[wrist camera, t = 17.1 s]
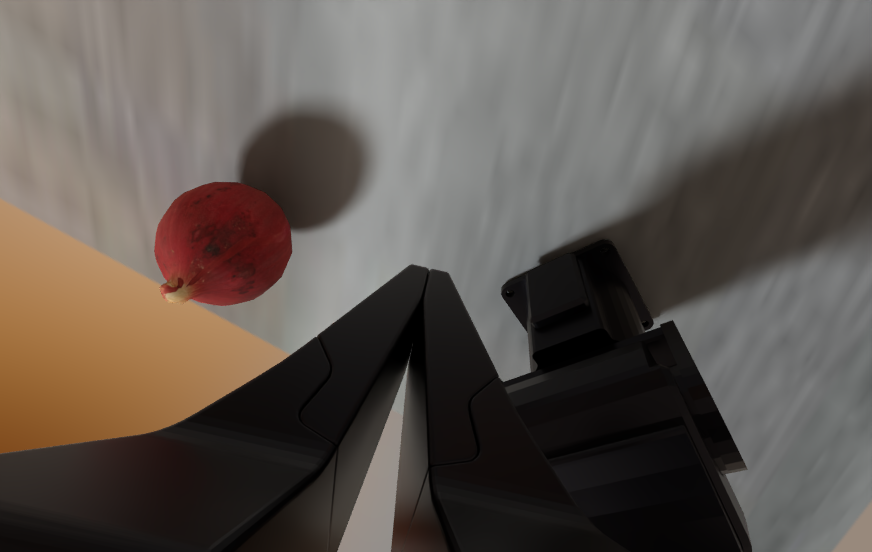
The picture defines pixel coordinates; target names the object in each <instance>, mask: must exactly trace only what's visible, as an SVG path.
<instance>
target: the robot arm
mask: <svg viewBox="0 0 872 552" xmlns="http://www.w3.org/2000/svg"><path fill="white" fill-rule="evenodd" d="M603 248H609V249H608V251H606V252H601V250H602V249H603ZM428 273H429V274H428ZM508 290H512V291H514V292H513V293H507V291H508ZM501 295H502V297H503V299H504V300H505V302H506V303H507V304H508V306H509V307H510V309H511V310H512V311H513V313H514V314H515V316H516V317H517V318H518V320H519V321H520V323H521V324H522V325H523V327H524V328H525V330H526V331H527V333H528V343H529V355H530V368H531V373H528V374H525V375H522V376H520V377H517V378H514V379H511V380H508V381H505V382H503V381H501V379H500V378H498V377H499V376H498V373H497V371H496V369H495V367H494V365H493V363H492V361H491V359H490V357H489V355H488V353H487V351H486V349H485V347H484V345H483V343H482V340H481V338H480V336H479V334H478V332H477V330H476V328H475V326H474V324H473V322H472V320H471V318H470V316H469V314H468V312H467V310H466V308H465V306H464V304H463V301H462V299H461V297H460V295H459V293H458V291H457V289H456V287H455V285H454V283H453V281H452V279H451V277H450V275H449V273H447V272H444V271H439V270H435V269H431V270H430V271H429V270H428V268H426V267H421V266H417V265H409V266H408V267H407V268H405V269H404V270H403V271H401V272H400V273H399V274H397V275H396V276H395V277H393V278H392V279H391V280H390V281H388V282H387V283H386V284H384V285H383V286H382V287H380V288H379V289H378V290H376V291H375V292H374V293H372V294H371V295H370V296H369V297H367V298H366V299H365V300H363V301H362V302H361V303H359V304H358V305H357V306H355V307H354V308H353V309H352V310H350V311H349V312H348V313H346V314H345V315H344V316H342V317H341V318H340V319H338V320H337V321H336V322H334V323H333V324H332V325H331V326H329V327H328V328H327V329H325V330H324V331H323V332H321V333H320V334H319V335H318V336H317V337H315V338H313V339H312V340H311V341H309V342H308V343H307V344H305V345H304V346H303V347H301V348H300V349H299V350H297V351H296V352H294V353H293V354H292V355H290V356H289V357H287V358H286V359H284V360H283V361H282V362H280V363H279V364H277V365H275V366H274V367H272V368H270V369H269V370H267V371H266V372H264V373H262V374H261V375H259V376H258V377H256V378H254V379H253V380H251V381H249V382H248V383H246V384H244V385H243V386H241V387H239V388H238V389H236V390H234V391H232V392H231V393H229V394H227V395H226V396H224V397H222V398H221V399H219V400H217V401H215V402H214V403H212V404H210V405H209V406H207V407H205V408H204V409H202V410H200V411H199V412H197V413H195V414H193V415H192V416H190V417H188V418H186V419H185V420H183V421H181V422H178V423H176V424H174V425H171V426H169V427H166V428H163V429H161V430H158V431H154V432H151V433H146V434H141V435H134V436H127V437H119V438H112V439H105V440H97V441H90V442H83V443H75V444H68V445H60V446H53V447H46V448H39V449H32V450H24V451H16V452H9V453H2V454H0V552H337V550H338V548H339V545H340V542H341V540H342V537H343V535H344V532H345V529H346V527H347V524H348V521H349V519H350V516H351V514H352V511H353V508H354V505H355V503H356V500H357V498H358V495H359V492H360V489H361V487H362V485H363V481H364V479H365V477H366V474H367V471H368V468H369V466H370V463H371V461H372V458H373V455H374V453H375V450H376V447H377V445H378V442H379V440H380V437H381V434H382V432H383V429H384V426H385V423H386V421H387V418H388V416H389V413H390V411H391V408H392V405H393V403H394V400H395V397H396V395H397V392H398V390H399V387H400V384H401V382H402V379H403V376H404V374H405V371H406V368H407V365H408V371H407V381H406V392H405V403H404V414H403V425H402V436H401V447H400V459H399V470H398V480H397V491H396V503H395V514H394V525H393V535H392V546H391V552H752V546H751V541H750V537H749V532H748V528H747V523H746V519H745V516H744V513H743V511H742V509H741V507H740V505H739V503H738V500H737V498H736V496H735V494H734V492H733V490H732V488H731V486H730V483H729V481H728V479H727V477H726V475H725V474H728V473H733V472H738V471H743V470H748V469H747V467H746V465H745V463H744V461H743V459H742V457H741V455H740V453H739V451H738V449H737V447H736V445H735V443H734V441H733V438H732V436H731V434H730V432H729V430H728V428H727V426H726V424H725V422H724V420H723V418H722V416H721V414H720V412H719V410H718V408H717V406H716V404H715V402H714V400H713V398H712V396H711V394H710V392H709V390H708V388H707V386H706V384H705V382H704V380H703V378H702V376H701V374H700V372H699V371H698V369H697V367H696V365H695V363H694V361H693V359H692V357H691V355H690V353H689V351H688V349H687V347H686V345H685V343H684V341H683V339H682V337H681V335H680V333H679V331H678V329H677V327H676V325H675V324H674V322H673V320H672V321H669V322H666V323H663V324H660V326H661V327H659V328H657V329H654V330H651V331H648V332H645V331H646V330H648V329H650V328H651V327H652V326H653V324H654V322H653V319H652V317H651V315H650V313H649V311H648V309H647V307H646V305H645V303H644V302H643V300H642V298H641V296H640V294H639V292H638V290H637V288H636V286H635V284H634V282H633V280H632V278H631V277H630V275H629V273H628V271H627V269H626V267H625V265H624V263H623V261H622V259H621V257H620V255H619V254H618V252H617V250H616V248H615V246H614V244H613V243H612V242H611V241H609V240H601V241H598V242H596V243H594V244H592V245H590V246H587V247H585V248H583V249H581V250H578V251H576V252H574V253H572V254H570V253H568V254H566V255H564V256H561V257H559V258H557V259H555V260H553V261H550V262H548V263H546V264H544V265H542V266H539V267H537V268H535V269H533V270H531V271H528V272H527V274H526V275H523V276H521V277H519V278H517V279H514V280H512V281H510V282H508V283H506V284H504V285H503V286H502V289H501ZM642 321H646V322H644V323H641V322H642ZM412 344H413V345H412ZM410 353H411V354H410ZM409 357H410V359H409ZM408 361H409V364H408Z"/></svg>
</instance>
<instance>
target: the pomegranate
mask: <svg viewBox="0 0 872 552" xmlns="http://www.w3.org/2000/svg"><path fill="white" fill-rule="evenodd" d="M154 252H155V257H156V260H157V263H158V266H159V268H160V270H161V272H162V274H163V276H164V278H165V279H166V280H167V283H165V284H163V285H162V286H161V287H159V288H160V291H161V294H162V296H163V298H164V299H165V300H166V302H170V303H178V304H184V303H185V302H186V301H188V300H189V299H193V300H196V301H198V302H201V303H207V304H212V305H219V306H226V305H233V304H238V303H242V302H246V301H250V300H254V299H255V298H257V297H259V296H260V295H262V294H263V293H264V292H265V291H267V290H268V289H269V288H270V287H271V286H273V285H274V284H275V283H276V282H277V281H278V280H279V279H280V278H281V277H282V275H283V272H284V270H285V268H286V266H287V263H288V261H289V259H290V256H291V254H292V242H291V230H290V225H289V223H288V221H287V219H286V216H285V214H284V212H283V210H282V208H281V207H280V206H279V205H278V204H277V203H276V202H275V201H273V200H272V199H271V198H270V197H269V196H268V195H267V194H266V193H265V192H262V191H260V190H258V189H255V188H253V187H250V186H248V185H245V184H241V183H237V182H213V183H209V184H205V185H202V186H199V187H197V188H195V189H192V190H190V191H187V192H185V193H183V194H182V195H181V196H179V197H178V198H177V199H175V200H174V202H173V203H172V204H171V206H170V207H169V209H168V210H167V212H166V213H165V214H164V216H163V218H162V219H161V221H160V223H159V224H158V228H157V232H156V240H155V250H154Z"/></svg>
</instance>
